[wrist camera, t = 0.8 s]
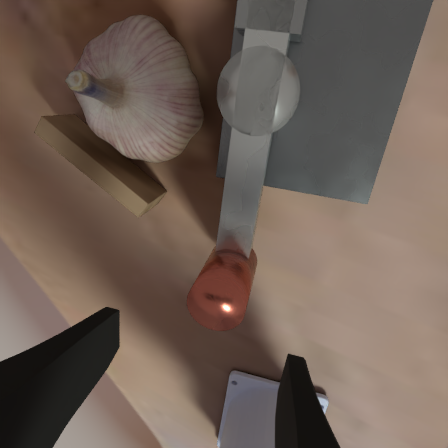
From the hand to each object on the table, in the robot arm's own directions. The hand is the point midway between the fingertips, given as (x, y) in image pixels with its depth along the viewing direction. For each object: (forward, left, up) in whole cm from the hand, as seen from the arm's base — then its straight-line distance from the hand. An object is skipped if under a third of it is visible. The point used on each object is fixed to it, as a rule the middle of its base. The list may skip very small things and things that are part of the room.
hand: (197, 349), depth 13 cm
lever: (+7, 0, -9) cm, 11 cm away
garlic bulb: (+9, +7, -10) cm, 15 cm away
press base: (+10, -3, -10) cm, 15 cm away
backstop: (+5, +9, -10) cm, 14 cm away
